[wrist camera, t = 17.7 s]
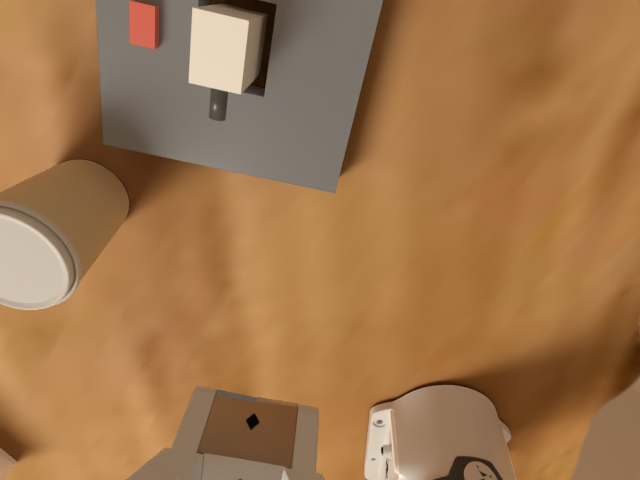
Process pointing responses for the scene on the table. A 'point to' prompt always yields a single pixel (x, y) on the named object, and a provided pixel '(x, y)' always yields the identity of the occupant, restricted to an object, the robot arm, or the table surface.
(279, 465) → the robot arm
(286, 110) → the socket plate
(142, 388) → the table surface
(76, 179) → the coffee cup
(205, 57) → the plug
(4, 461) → the butter dish
